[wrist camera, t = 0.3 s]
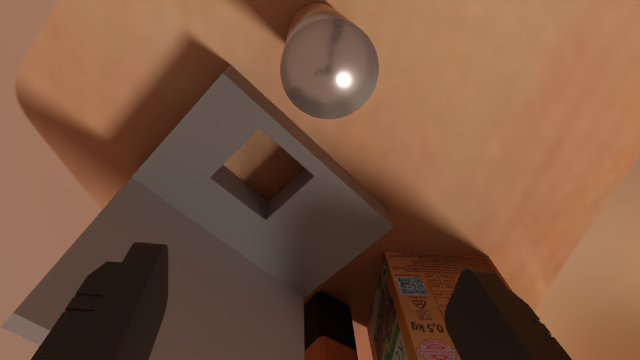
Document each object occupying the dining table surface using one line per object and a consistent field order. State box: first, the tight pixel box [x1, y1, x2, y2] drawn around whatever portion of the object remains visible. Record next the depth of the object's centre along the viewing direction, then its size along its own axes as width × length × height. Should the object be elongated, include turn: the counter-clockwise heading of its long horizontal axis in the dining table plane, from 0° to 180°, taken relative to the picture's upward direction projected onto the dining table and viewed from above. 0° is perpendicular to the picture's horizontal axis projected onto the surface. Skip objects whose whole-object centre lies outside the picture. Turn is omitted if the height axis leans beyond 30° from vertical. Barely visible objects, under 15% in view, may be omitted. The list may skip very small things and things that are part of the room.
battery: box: [304, 292, 358, 360], centre depth 36 cm, size 4×7×10 cm, turn 144°
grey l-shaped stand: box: [1, 65, 394, 360], centre depth 25 cm, size 12×18×16 cm, turn 45°
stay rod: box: [280, 3, 379, 119], centre depth 21 cm, size 4×4×13 cm
